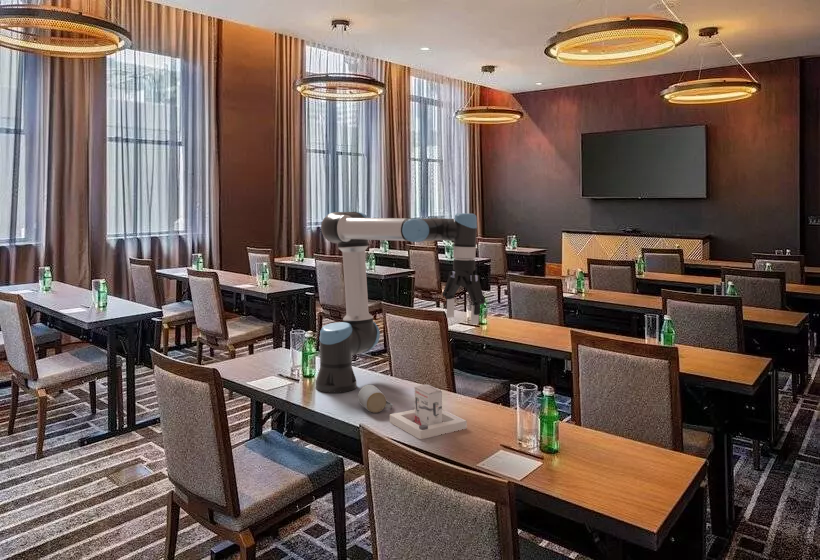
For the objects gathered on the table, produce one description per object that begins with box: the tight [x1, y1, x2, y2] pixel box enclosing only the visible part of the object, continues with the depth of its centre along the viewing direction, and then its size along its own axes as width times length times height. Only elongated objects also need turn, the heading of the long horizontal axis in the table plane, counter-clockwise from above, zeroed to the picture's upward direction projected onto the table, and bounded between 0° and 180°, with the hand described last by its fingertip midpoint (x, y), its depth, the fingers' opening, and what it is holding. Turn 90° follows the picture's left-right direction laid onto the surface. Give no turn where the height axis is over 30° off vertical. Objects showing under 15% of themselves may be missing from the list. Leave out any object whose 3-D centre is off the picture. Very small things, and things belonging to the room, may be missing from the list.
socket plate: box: [389, 408, 468, 440], centre depth 191 cm, size 17×17×3 cm
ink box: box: [414, 383, 443, 426], centre depth 190 cm, size 9×5×12 cm, turn 34°
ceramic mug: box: [357, 384, 393, 414], centre depth 205 cm, size 11×8×8 cm
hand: (462, 320), depth 213 cm, fingers open, 13 cm apart
